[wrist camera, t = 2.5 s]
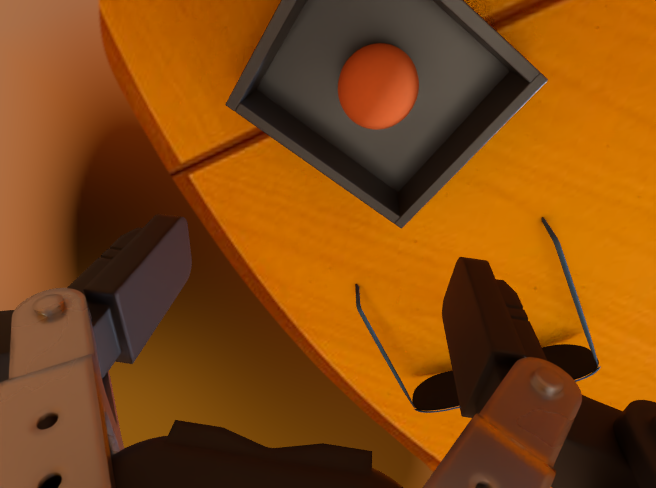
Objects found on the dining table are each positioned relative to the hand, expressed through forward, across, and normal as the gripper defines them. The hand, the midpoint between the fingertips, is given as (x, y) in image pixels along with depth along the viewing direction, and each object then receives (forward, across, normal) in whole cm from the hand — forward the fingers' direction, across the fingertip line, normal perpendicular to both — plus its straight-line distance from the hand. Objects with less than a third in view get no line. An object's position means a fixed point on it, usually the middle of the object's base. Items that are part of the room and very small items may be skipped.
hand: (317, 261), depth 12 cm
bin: (+20, -2, -2) cm, 20 cm away
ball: (+17, -2, -2) cm, 17 cm away
